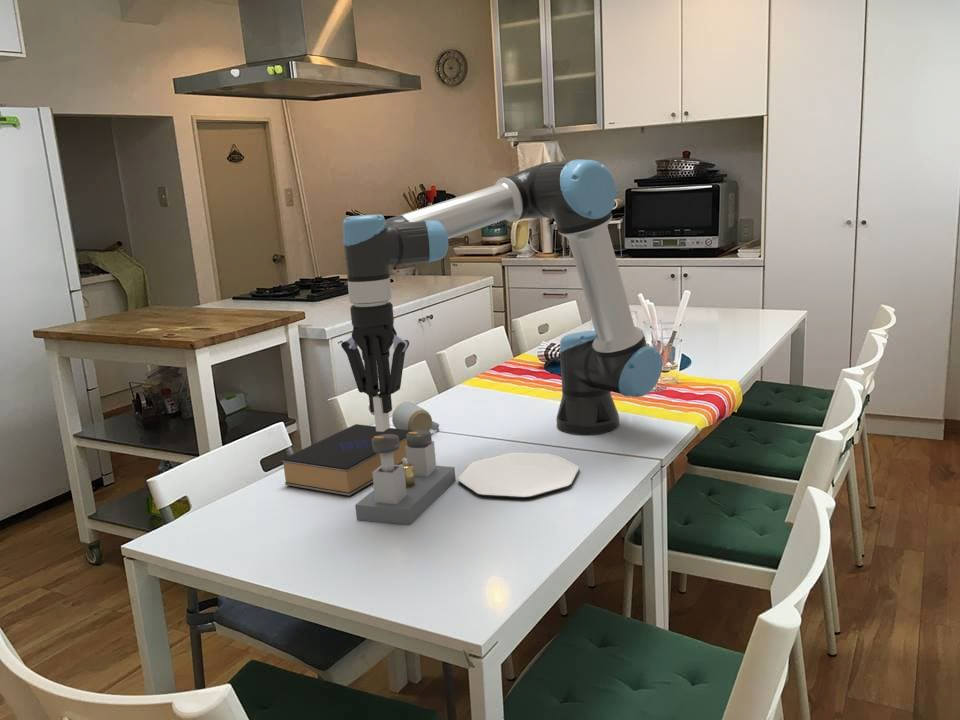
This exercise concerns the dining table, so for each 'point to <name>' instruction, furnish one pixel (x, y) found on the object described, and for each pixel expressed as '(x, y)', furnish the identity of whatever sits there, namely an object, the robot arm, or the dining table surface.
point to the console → (406, 489)
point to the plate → (518, 475)
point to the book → (340, 461)
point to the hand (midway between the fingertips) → (383, 429)
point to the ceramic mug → (412, 418)
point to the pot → (408, 473)
